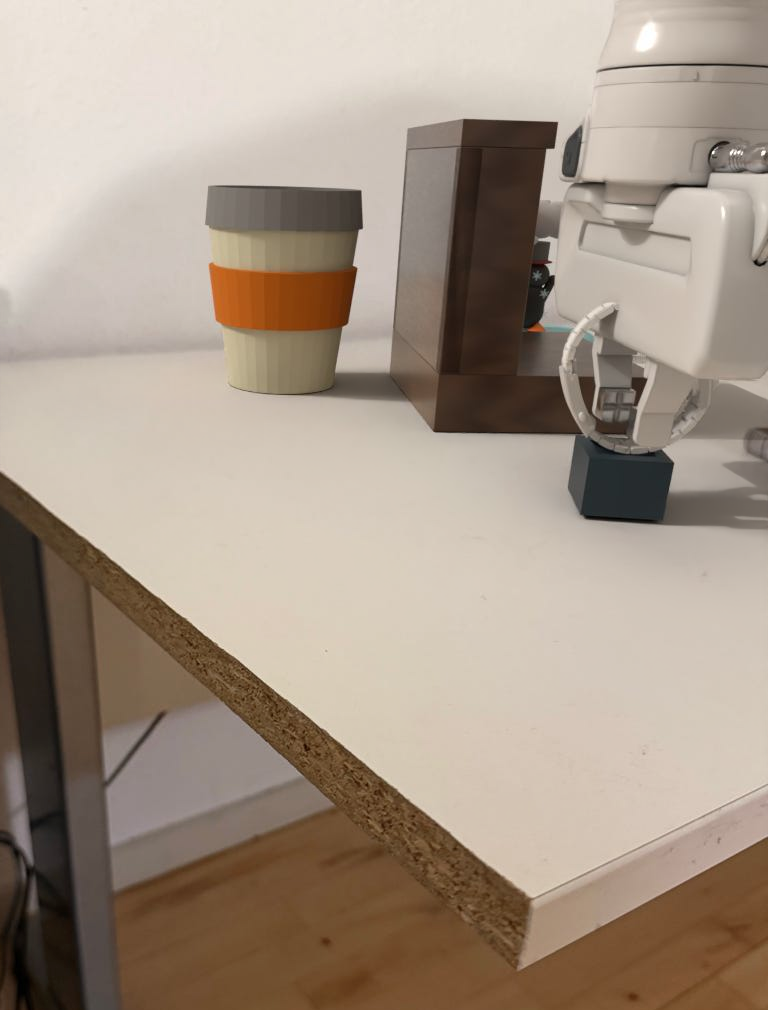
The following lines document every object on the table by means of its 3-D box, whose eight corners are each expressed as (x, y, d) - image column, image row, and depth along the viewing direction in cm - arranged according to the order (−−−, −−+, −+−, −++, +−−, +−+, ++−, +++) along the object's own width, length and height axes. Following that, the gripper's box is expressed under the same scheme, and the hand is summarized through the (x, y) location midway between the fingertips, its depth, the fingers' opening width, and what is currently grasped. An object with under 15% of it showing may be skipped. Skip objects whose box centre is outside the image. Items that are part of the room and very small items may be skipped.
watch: (701, 522, 51) (748, 304, 46) (546, 512, 51) (578, 298, 47) (677, 494, 56) (717, 295, 51) (536, 485, 57) (564, 289, 52)
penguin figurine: (591, 348, 101) (617, 190, 94) (599, 367, 91) (629, 192, 84) (403, 337, 104) (415, 183, 97) (392, 353, 95) (404, 185, 88)
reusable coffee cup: (378, 394, 78) (392, 192, 71) (231, 402, 74) (231, 189, 67) (321, 365, 88) (328, 186, 81) (190, 371, 84) (186, 184, 77)
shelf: (563, 377, 86) (601, 134, 77) (652, 434, 68) (714, 126, 60) (389, 375, 85) (407, 128, 76) (433, 431, 67) (463, 118, 59)
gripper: (877, 143, 36) (783, 491, 43) (658, 149, 55) (615, 391, 61) (717, 138, 36) (646, 490, 42) (551, 145, 54) (518, 390, 60)
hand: (627, 431), depth 52 cm, fingers closed on watch, 4 cm apart
